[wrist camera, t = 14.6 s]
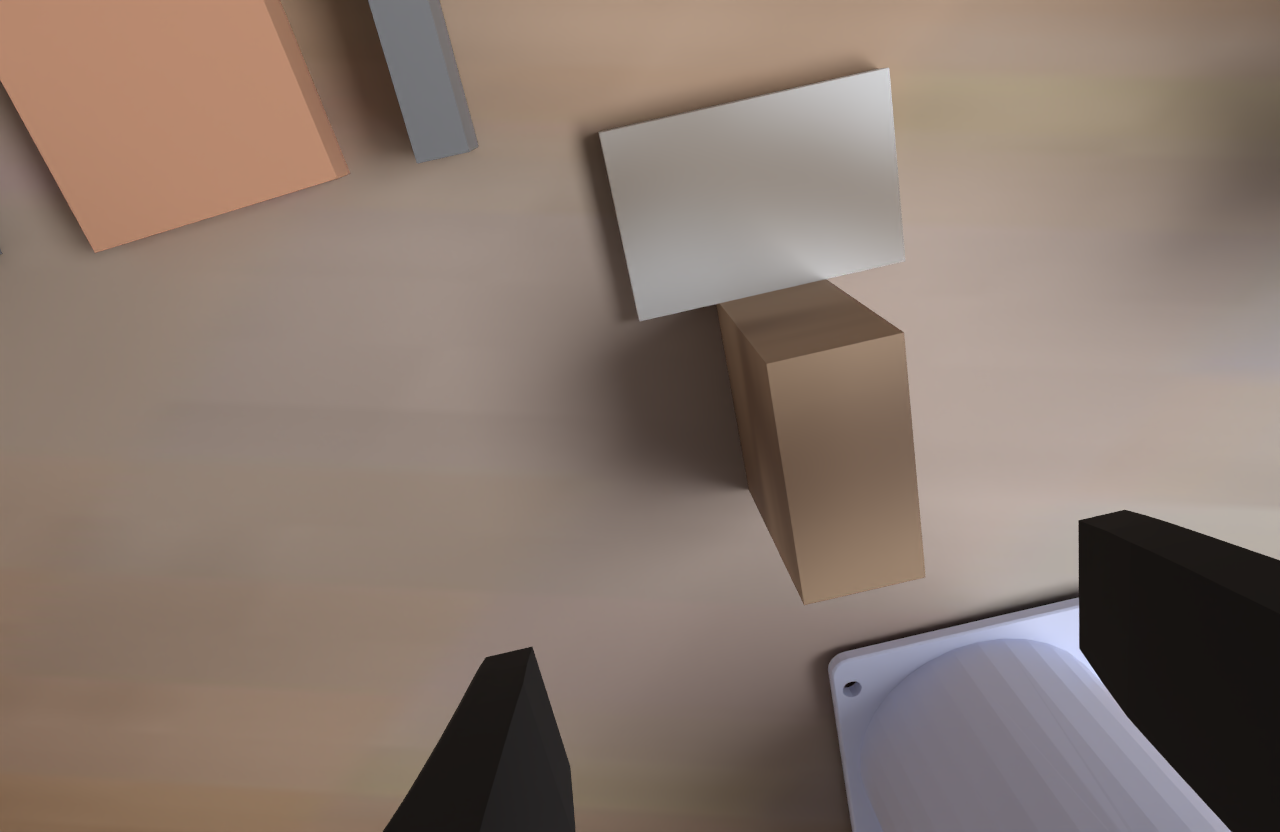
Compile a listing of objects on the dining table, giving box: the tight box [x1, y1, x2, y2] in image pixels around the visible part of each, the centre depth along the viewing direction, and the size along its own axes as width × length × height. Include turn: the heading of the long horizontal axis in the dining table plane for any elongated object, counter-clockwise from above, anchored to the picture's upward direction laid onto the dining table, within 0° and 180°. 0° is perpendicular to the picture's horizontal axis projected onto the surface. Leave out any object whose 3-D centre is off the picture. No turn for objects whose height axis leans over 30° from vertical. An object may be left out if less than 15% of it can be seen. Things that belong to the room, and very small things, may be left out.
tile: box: [0, 0, 350, 253], centre depth 16 cm, size 5×5×2 cm
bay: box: [0, 0, 478, 254], centre depth 15 cm, size 7×11×2 cm, turn 102°
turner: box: [598, 68, 925, 605], centre depth 16 cm, size 9×6×5 cm, turn 12°
